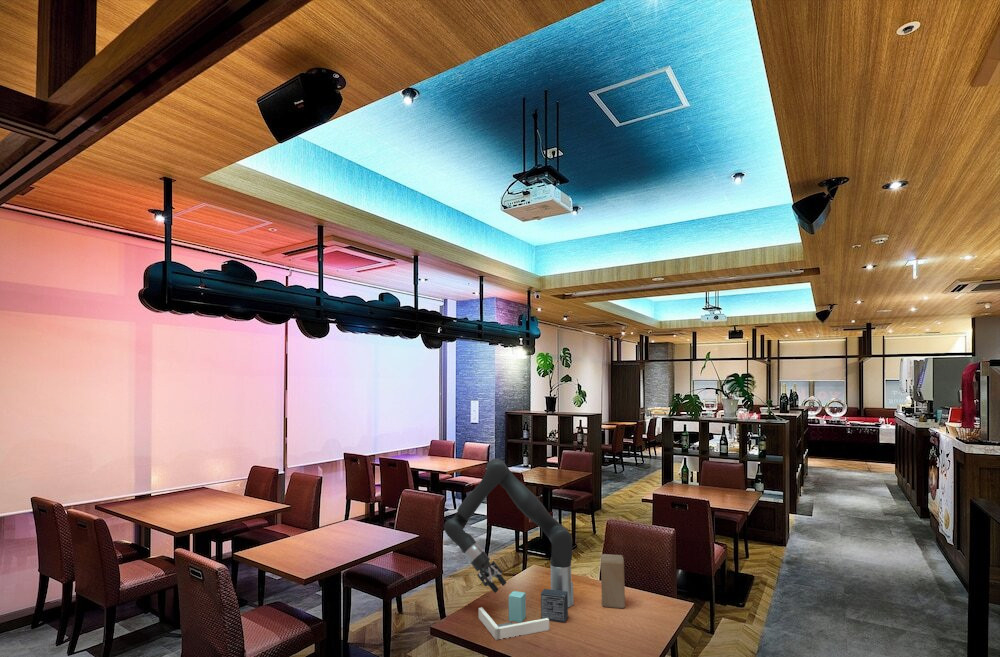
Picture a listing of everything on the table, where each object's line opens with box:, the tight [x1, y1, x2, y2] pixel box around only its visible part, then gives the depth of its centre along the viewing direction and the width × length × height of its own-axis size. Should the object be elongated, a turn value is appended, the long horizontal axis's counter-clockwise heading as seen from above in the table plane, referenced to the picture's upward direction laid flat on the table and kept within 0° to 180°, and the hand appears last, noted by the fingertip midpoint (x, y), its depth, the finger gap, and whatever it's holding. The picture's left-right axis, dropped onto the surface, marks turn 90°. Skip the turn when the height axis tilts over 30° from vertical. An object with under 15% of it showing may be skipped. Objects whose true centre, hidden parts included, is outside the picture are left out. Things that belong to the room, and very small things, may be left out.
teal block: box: [508, 590, 527, 623], centre depth 223 cm, size 6×6×10 cm
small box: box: [540, 588, 569, 624], centre depth 224 cm, size 11×6×10 cm, turn 71°
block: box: [600, 553, 626, 609], centre depth 238 cm, size 10×10×20 cm
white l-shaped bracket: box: [478, 607, 550, 641], centre depth 218 cm, size 23×21×4 cm
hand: (501, 587), depth 226 cm, fingers open, 8 cm apart
